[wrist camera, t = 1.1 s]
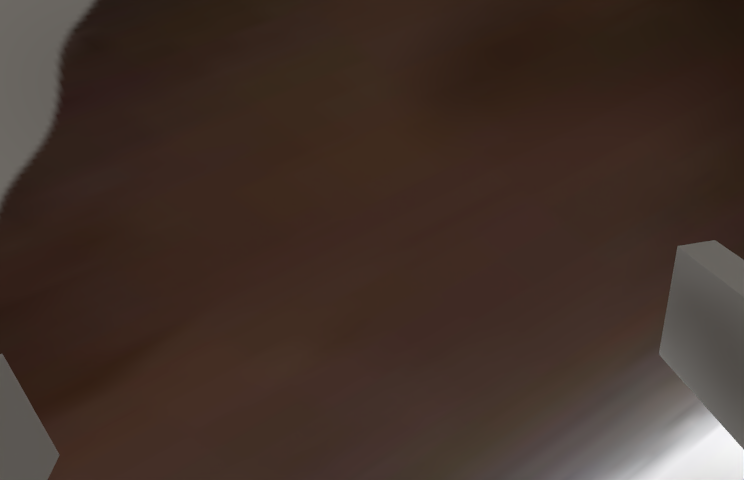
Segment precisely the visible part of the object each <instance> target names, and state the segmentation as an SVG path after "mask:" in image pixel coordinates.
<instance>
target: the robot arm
mask: <svg viewBox="0 0 744 480" xmlns="http://www.w3.org/2000/svg"><path fill="white" fill-rule="evenodd" d="M659 355H660V356H661V357H662V358H663V359H664V361H665V362H666V363H667V364H668V365H669V366H670V367H671V368H672V370H673V371H674V372H675V373H676V374H677V375H678V376H679V377H680V379H681V380H682V381H683V382H684V383H685V384H686V385H687V386H688V387H689V389H690V390H691V391H692V392H693V393H694V394H695V395H696V396H697V398H698V399H699V400H700V401H701V402H702V403H703V404H704V405H705V406H706V408H707V409H708V410H709V411H710V412H711V413H712V414H713V415H714V417H715V418H716V419H717V420H718V421H719V422H720V423H721V424H722V426H723V427H724V428H725V429H726V430H727V431H728V432H729V433H730V434H731V436H732V437H733V438H734V439H735V440H736V441H737V442H738V443H739V445H740V446H741V447H742V448H743V449H744V260H743V259H742V258H740V257H739V256H737V255H736V254H734V253H733V252H731V251H730V250H728V249H727V248H726V247H724V246H723V245H721V244H720V243H718V242H717V241H715V240H713V241H707V242H700V243H694V244H688V245H681V246H678V247H677V253H676V259H675V264H674V270H673V276H672V282H671V287H670V293H669V299H668V305H667V311H666V316H665V322H664V328H663V334H662V339H661V345H660V351H659ZM58 457H59V453H58V452H57V450H56V448H55V446H54V445H53V443H52V441H51V439H50V437H49V436H48V434H47V432H46V430H45V429H44V427H43V425H42V423H41V421H40V420H39V418H38V416H37V414H36V413H35V411H34V409H33V407H32V406H31V404H30V402H29V400H28V398H27V397H26V395H25V393H24V391H23V390H22V388H21V386H20V384H19V383H18V381H17V379H16V377H15V375H14V374H13V372H12V370H11V368H10V367H9V365H8V363H7V361H6V359H5V358H4V356H3V354H0V480H47V479H48V477H49V475H50V473H51V471H52V469H53V467H54V465H55V463H56V461H57V459H58Z"/></svg>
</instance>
